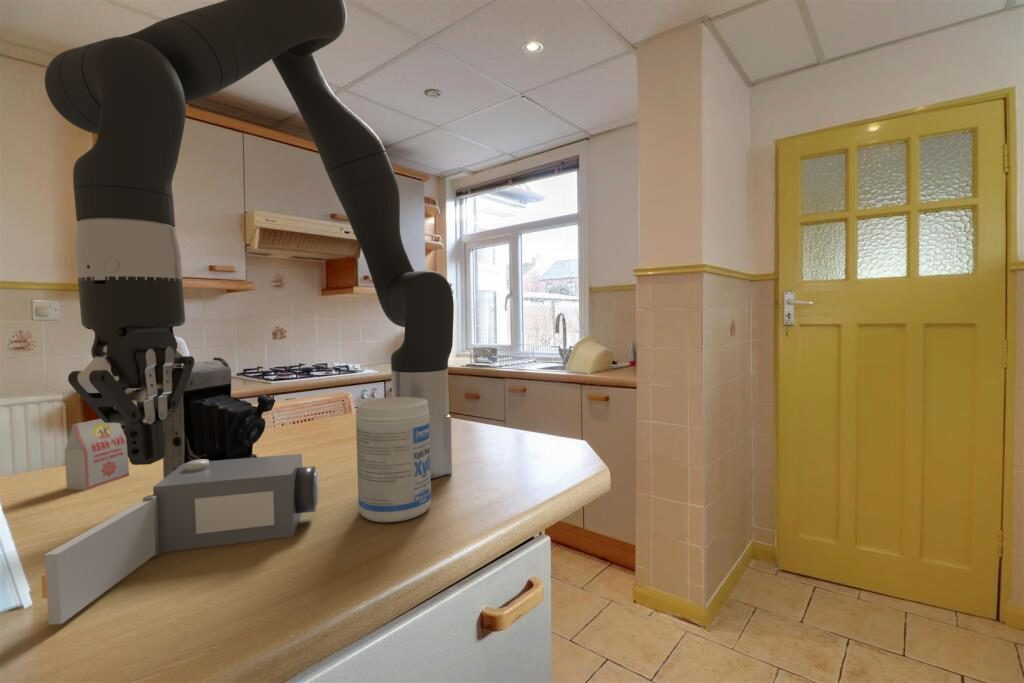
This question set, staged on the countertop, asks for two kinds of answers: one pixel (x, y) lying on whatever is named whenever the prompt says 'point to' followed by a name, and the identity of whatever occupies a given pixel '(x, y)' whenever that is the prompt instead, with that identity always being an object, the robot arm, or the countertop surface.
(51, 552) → the side door
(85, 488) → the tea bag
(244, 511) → the camera housing
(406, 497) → the supplement tub
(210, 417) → the vintage camera
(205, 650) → the countertop surface
